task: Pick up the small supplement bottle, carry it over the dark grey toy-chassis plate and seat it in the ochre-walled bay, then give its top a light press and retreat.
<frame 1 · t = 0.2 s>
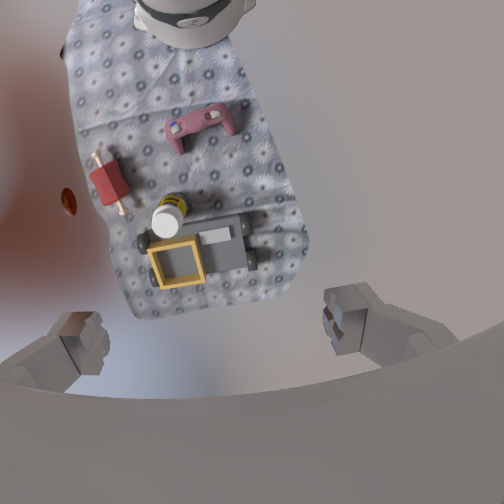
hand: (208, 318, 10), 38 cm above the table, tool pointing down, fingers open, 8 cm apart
supplement bottle: (173, 205, 47), on the table
chassis: (198, 247, 51), on the table
video game controller: (201, 127, 41), on the table
meat: (114, 178, 43), on the table
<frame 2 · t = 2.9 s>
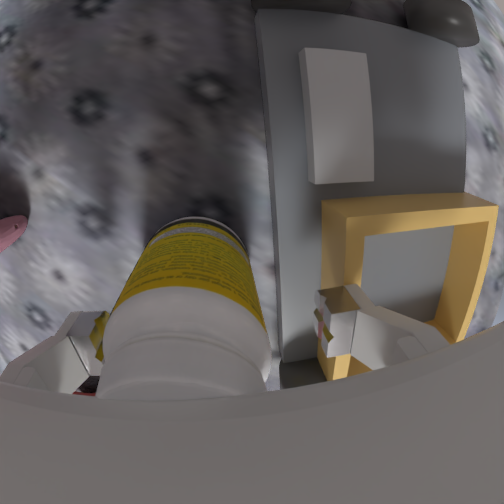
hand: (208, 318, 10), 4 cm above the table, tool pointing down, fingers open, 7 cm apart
supplement bottle: (196, 264, 13), on the table
chassis: (376, 193, 12), on the table
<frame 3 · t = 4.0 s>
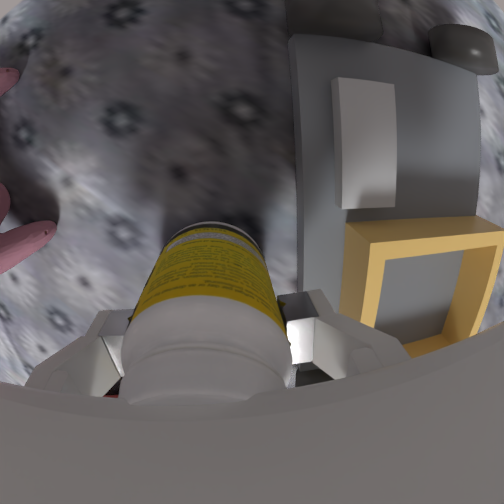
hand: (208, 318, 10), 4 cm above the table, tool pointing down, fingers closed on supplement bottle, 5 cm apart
supplement bottle: (212, 269, 13), on the table, touching gripper
chassis: (394, 215, 13), on the table
video game controller: (6, 167, 10), on the table
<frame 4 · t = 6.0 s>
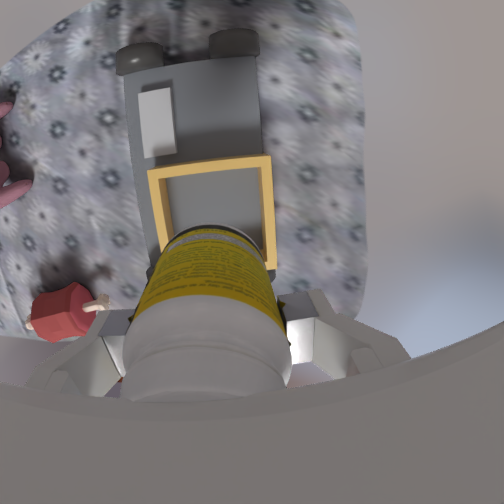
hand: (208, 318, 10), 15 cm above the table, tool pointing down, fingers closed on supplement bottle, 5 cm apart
supplement bottle: (212, 270, 13), point 11 cm above the table, touching gripper
chassis: (197, 161, 22), on the table
video game controller: (7, 154, 19), on the table
meat: (72, 300, 26), on the table
when the fingers open (5 cm above the table, at t = 7.9 s): supplement bottle stays where it is, resting on chassis.
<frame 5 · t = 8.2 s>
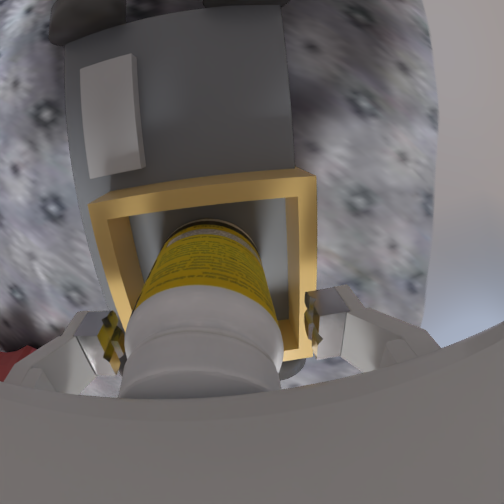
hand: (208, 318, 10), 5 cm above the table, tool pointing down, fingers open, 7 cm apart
supplement bottle: (209, 264, 14), point 1 cm above the table, touching chassis
chassis: (182, 180, 13), on the table
meat: (32, 360, 17), on the table
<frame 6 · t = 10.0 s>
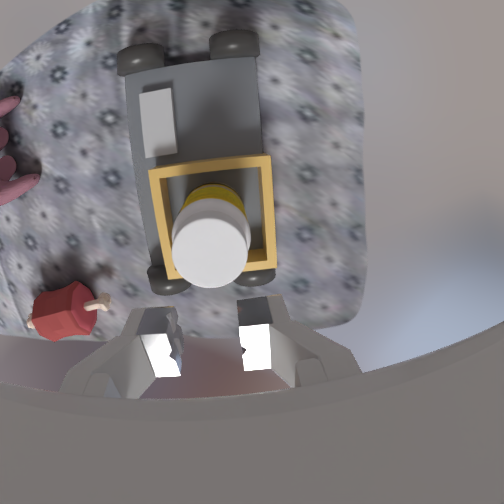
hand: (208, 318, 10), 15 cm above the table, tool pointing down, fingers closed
supplement bottle: (213, 210, 23), point 1 cm above the table, touching chassis
chassis: (198, 161, 22), on the table
video game controller: (14, 149, 19), on the table
meat: (73, 299, 26), on the table
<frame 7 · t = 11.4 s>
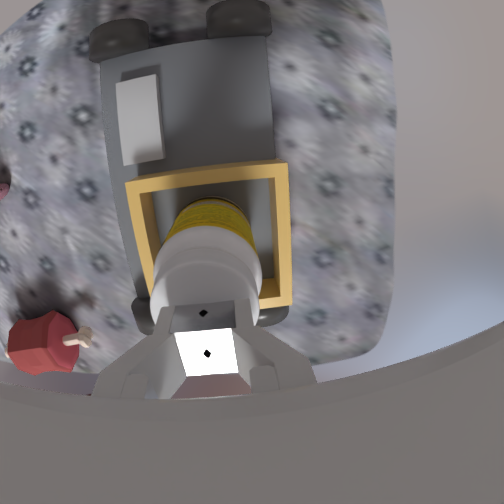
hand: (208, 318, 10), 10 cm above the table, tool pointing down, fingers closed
supplement bottle: (212, 231, 18), point 1 cm above the table, touching chassis
chassis: (192, 168, 17), on the table
meat: (53, 328, 21), on the table
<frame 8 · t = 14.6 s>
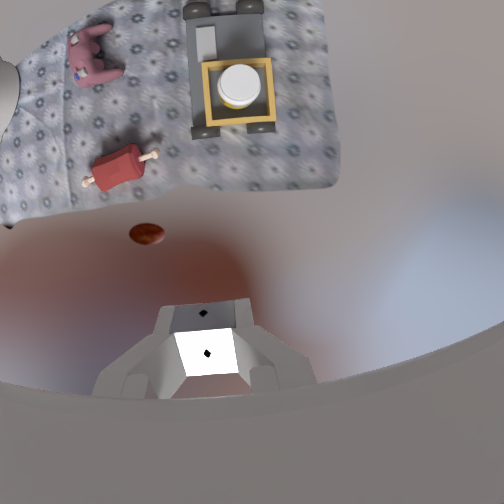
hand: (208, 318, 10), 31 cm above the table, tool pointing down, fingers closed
supplement bottle: (236, 92, 33), point 1 cm above the table, touching chassis
chassis: (227, 67, 32), on the table
video game controller: (101, 58, 29), on the table
meat: (124, 165, 36), on the table
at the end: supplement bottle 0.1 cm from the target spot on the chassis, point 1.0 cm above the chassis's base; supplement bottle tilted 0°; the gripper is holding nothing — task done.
